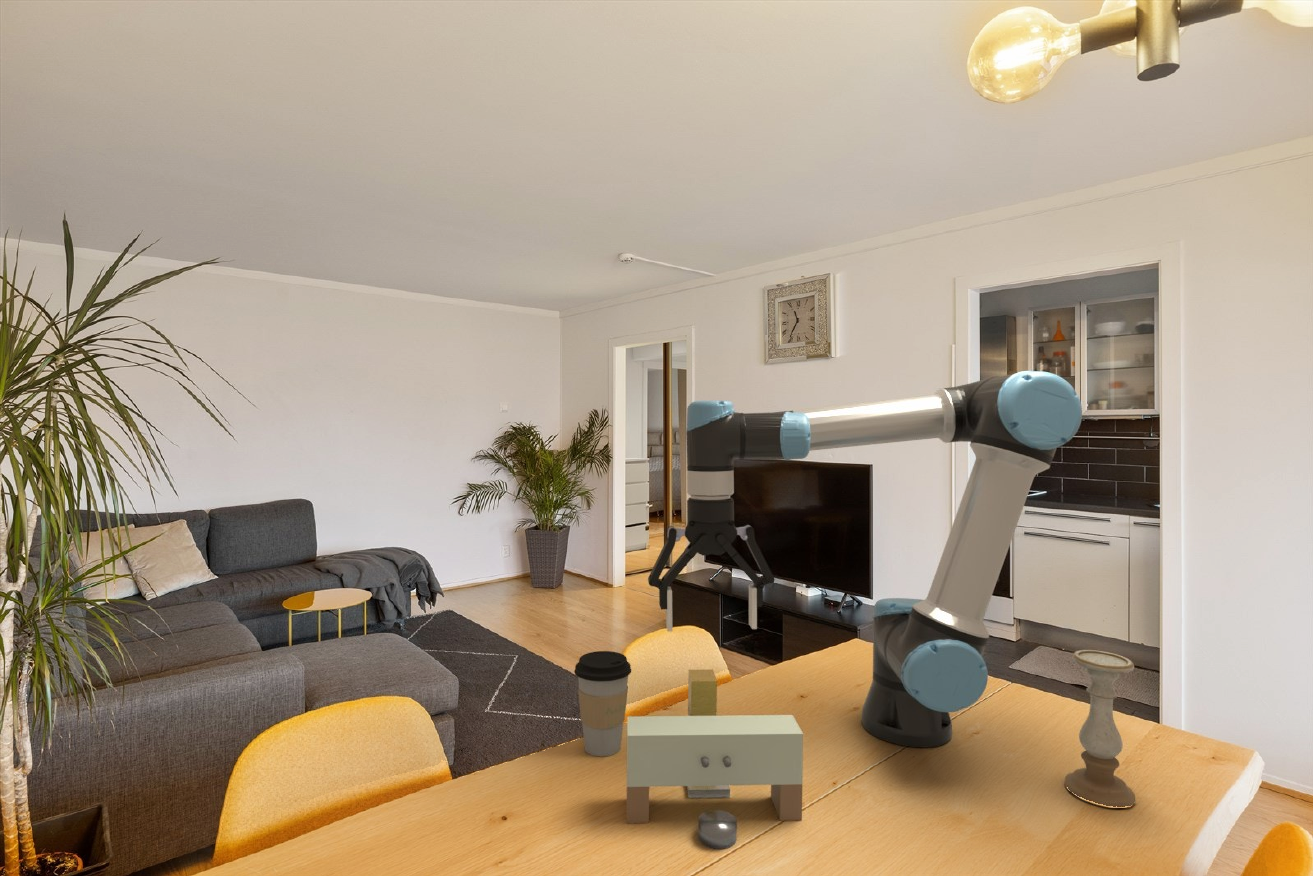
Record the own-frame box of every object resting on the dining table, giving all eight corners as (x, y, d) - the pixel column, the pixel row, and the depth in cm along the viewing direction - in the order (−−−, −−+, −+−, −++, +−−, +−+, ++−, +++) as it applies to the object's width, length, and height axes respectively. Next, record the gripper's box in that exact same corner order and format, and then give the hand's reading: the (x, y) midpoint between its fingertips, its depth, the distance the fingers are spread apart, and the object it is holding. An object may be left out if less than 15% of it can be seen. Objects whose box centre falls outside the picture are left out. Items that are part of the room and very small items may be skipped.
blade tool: (717, 754, 112) (718, 669, 112) (730, 797, 100) (731, 702, 99) (681, 754, 112) (682, 669, 112) (688, 798, 99) (689, 702, 99)
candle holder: (1124, 784, 104) (1127, 652, 104) (1144, 815, 96) (1148, 671, 95) (1058, 774, 107) (1061, 645, 107) (1072, 803, 99) (1076, 664, 98)
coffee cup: (622, 765, 109) (623, 671, 108) (565, 758, 110) (566, 666, 110) (636, 738, 118) (637, 651, 117) (583, 732, 120) (584, 647, 119)
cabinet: (791, 796, 100) (792, 715, 100) (803, 824, 93) (805, 737, 93) (626, 799, 99) (627, 716, 98) (626, 827, 92) (627, 739, 92)
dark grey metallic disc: (735, 828, 92) (735, 810, 92) (738, 851, 87) (738, 833, 87) (697, 827, 92) (698, 809, 92) (698, 850, 87) (698, 831, 87)
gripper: (780, 493, 115) (781, 619, 115) (632, 495, 113) (633, 623, 114) (792, 498, 107) (793, 632, 108) (633, 500, 106) (634, 637, 106)
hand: (711, 628), depth 111 cm, fingers open, 13 cm apart
